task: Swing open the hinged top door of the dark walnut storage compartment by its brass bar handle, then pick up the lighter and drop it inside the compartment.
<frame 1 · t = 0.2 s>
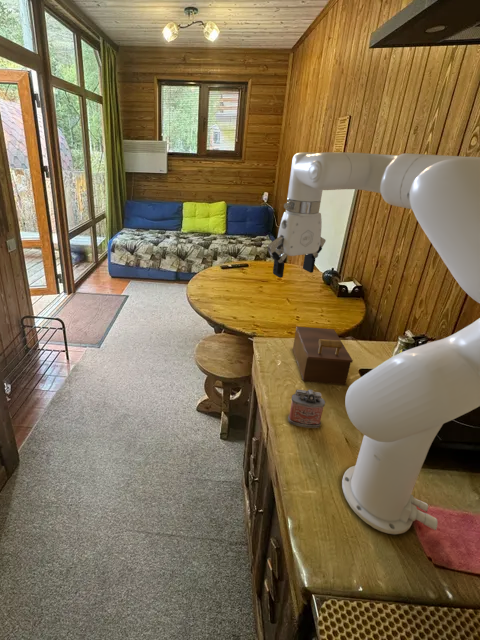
hand: (293, 273, 79), 37 cm above the kitchen counter, tool pointing down, fingers open, 9 cm apart
lid: (323, 336, 97), point 12 cm above the kitchen counter, hinge at 0.0°
chest: (317, 366, 101), on the kitchen counter
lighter: (303, 422, 80), on the kitchen counter
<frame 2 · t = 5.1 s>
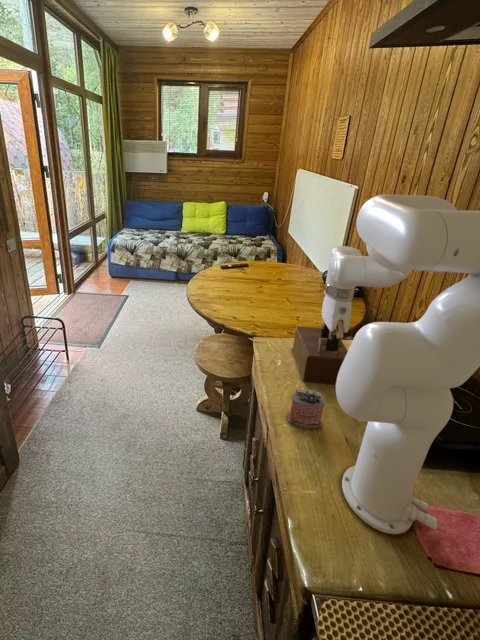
hand: (328, 344, 92), 12 cm above the kitchen counter, tool pointing down, fingers open, 4 cm apart
lid: (323, 336, 97), point 12 cm above the kitchen counter, hinge at 1.7°, touching gripper
everything else where it was.
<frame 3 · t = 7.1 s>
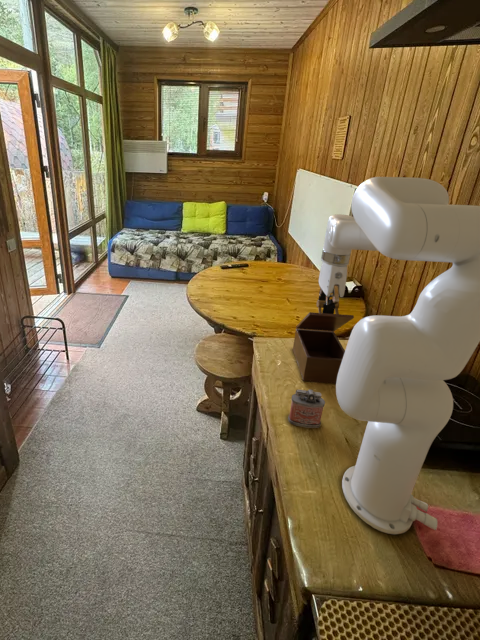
hand: (325, 310, 97), 19 cm above the kitchen counter, tool pointing down, fingers open, 4 cm apart
lid: (321, 315, 99), point 17 cm above the kitchen counter, hinge at 46.9°, touching gripper
everything else where it was.
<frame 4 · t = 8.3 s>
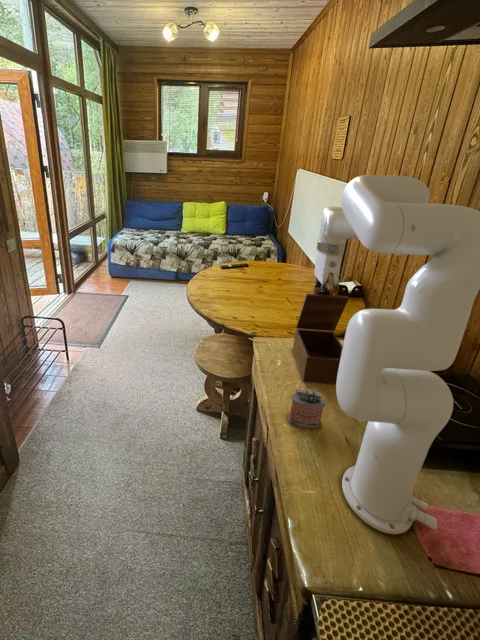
hand: (320, 298, 102), 21 cm above the kitchen counter, tool pointing down, fingers open, 4 cm apart
lid: (319, 307, 102), point 18 cm above the kitchen counter, hinge at 70.4°, touching gripper
everything else where it was.
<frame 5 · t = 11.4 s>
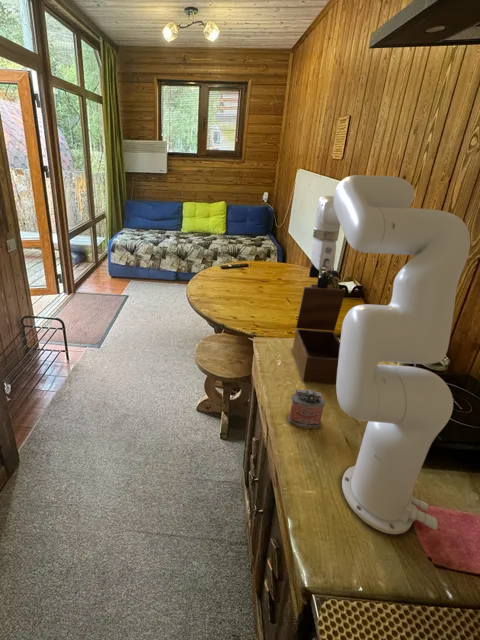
hand: (317, 282, 105), 24 cm above the kitchen counter, tool pointing down, fingers open, 9 cm apart
lid: (317, 305, 104), point 18 cm above the kitchen counter, hinge at 82.4°
everything else where it was.
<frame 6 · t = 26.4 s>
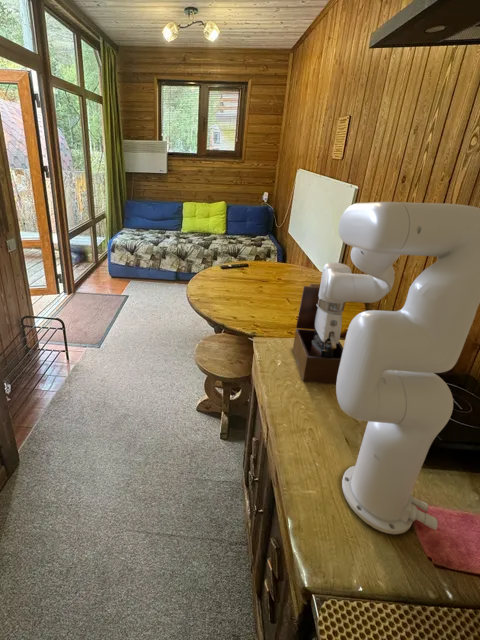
hand: (321, 352, 98), 6 cm above the kitchen counter, tool pointing down, fingers closed on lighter, 7 cm apart
lid: (317, 305, 104), point 18 cm above the kitchen counter, hinge at 84.1°
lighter: (318, 366, 100), point 1 cm above the kitchen counter, touching gripper
when the fingers open (8 cm above the kitchen counter, at t = 43.9 s): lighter drops 2 cm, resting on chest.
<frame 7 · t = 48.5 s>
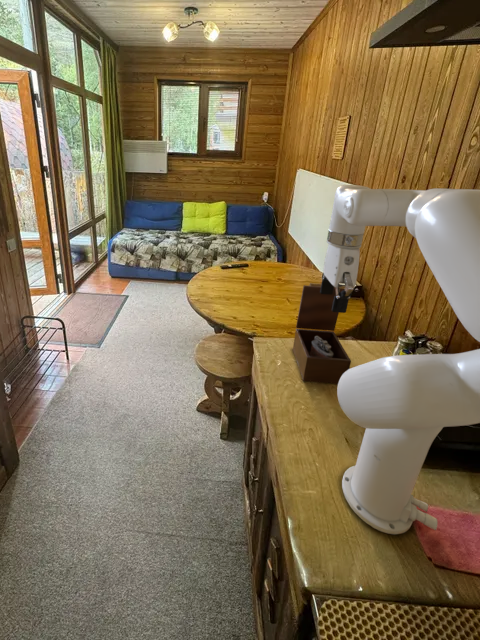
hand: (332, 302, 79), 30 cm above the kitchen counter, tool pointing down, fingers open, 9 cm apart
lid: (317, 304, 104), point 18 cm above the kitchen counter, hinge at 86.0°
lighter: (318, 367, 100), point 1 cm above the kitchen counter, touching chest
at the end: lid at +86° (first picture: +0°); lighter inside the target area in the chest (1.4 cm from its centre), point 0.6 cm above the chest's base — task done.
